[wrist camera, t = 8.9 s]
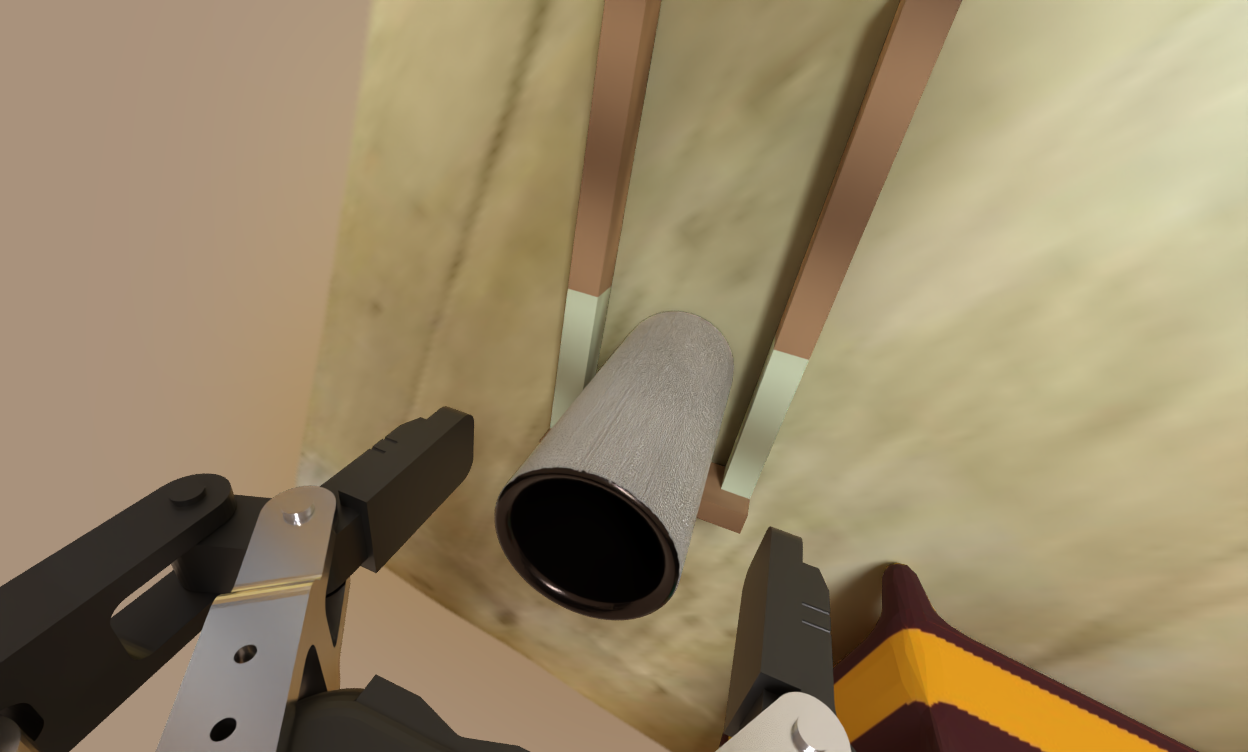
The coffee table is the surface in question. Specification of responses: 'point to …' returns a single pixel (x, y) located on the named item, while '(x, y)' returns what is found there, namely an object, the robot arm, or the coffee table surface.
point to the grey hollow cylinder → (622, 474)
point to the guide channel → (830, 251)
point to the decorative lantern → (963, 692)
